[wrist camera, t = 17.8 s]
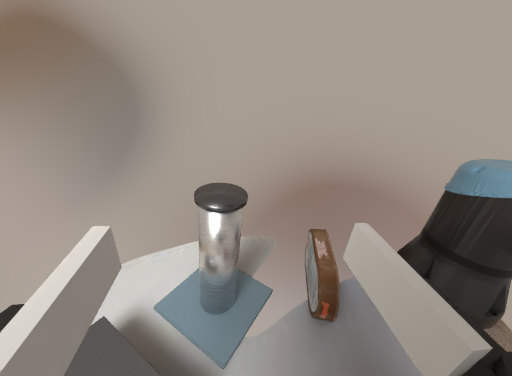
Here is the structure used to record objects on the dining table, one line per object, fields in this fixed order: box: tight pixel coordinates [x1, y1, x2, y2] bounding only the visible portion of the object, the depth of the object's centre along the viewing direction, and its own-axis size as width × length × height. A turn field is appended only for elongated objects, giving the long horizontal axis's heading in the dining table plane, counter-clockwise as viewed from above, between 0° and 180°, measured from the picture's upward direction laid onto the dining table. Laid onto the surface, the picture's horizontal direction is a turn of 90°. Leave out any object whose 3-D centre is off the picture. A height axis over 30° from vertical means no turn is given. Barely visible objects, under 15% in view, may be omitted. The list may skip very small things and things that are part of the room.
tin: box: [305, 229, 339, 322], centre depth 33 cm, size 15×3×8 cm, turn 171°
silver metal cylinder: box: [194, 183, 248, 315], centre depth 27 cm, size 6×6×17 cm
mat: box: [154, 269, 273, 369], centre depth 31 cm, size 12×12×1 cm
